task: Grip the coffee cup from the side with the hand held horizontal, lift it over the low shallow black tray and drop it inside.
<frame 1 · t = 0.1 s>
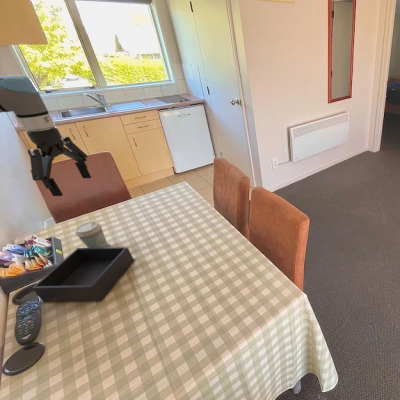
hand: (73, 186, 97), 31 cm above the table, tool pointing down, fingers open, 13 cm apart
shallow black tray: (92, 279, 99), on the table
coffee cup: (100, 249, 114), on the table
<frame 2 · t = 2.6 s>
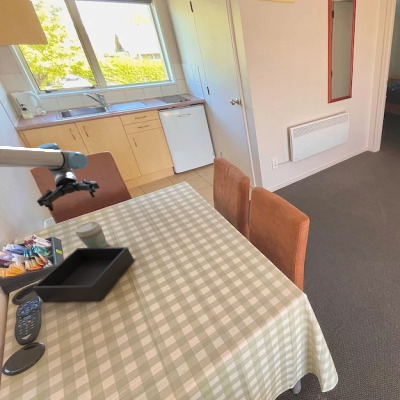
hand: (71, 201, 108), 21 cm above the table, tool horizontal, fingers open, 13 cm apart
nothing on the table moved.
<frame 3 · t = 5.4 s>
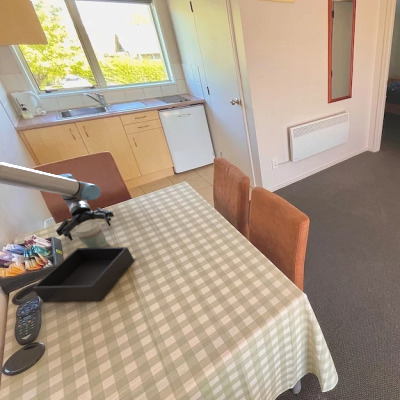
hand: (90, 230, 114), 7 cm above the table, tool horizontal, fingers open, 13 cm apart
nothing on the table moved.
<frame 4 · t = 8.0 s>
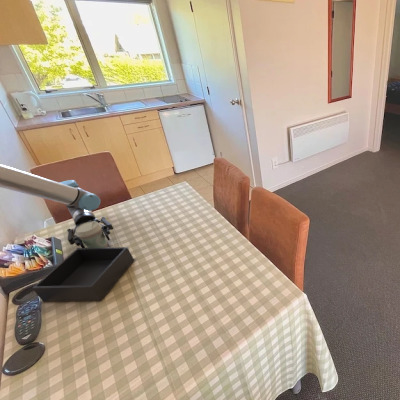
hand: (95, 242, 107), 7 cm above the table, tool horizontal, fingers closed on coffee cup, 8 cm apart
coffee cup: (100, 249, 114), on the table, touching gripper
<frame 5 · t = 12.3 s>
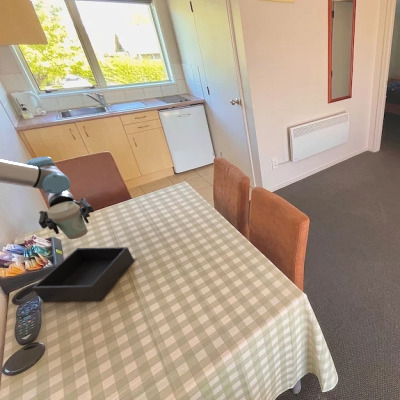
hand: (71, 225, 92), 22 cm above the table, tool horizontal, fingers closed on coffee cup, 8 cm apart
coffee cup: (78, 234, 98), point 15 cm above the table, touching gripper
when the fingers open (12 cm above the table, at t = 16.7 s): coffee cup drops 2 cm, point 4 cm above the table.
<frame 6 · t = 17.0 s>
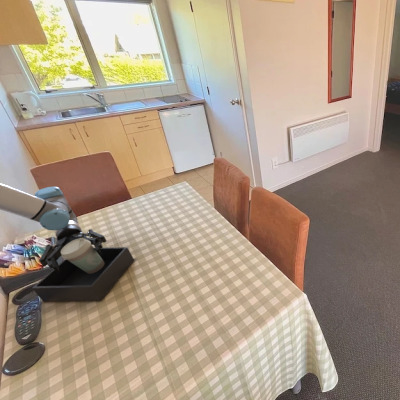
hand: (78, 260, 91), 12 cm above the table, tool horizontal, fingers open, 11 cm apart
coffee cup: (96, 267, 100), point 4 cm above the table
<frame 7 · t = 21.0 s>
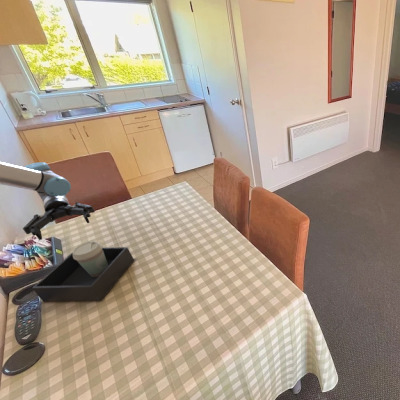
hand: (63, 228, 96), 18 cm above the table, tool horizontal, fingers open, 13 cm apart
coffee cup: (100, 271, 101), point 1 cm above the table, touching shallow black tray
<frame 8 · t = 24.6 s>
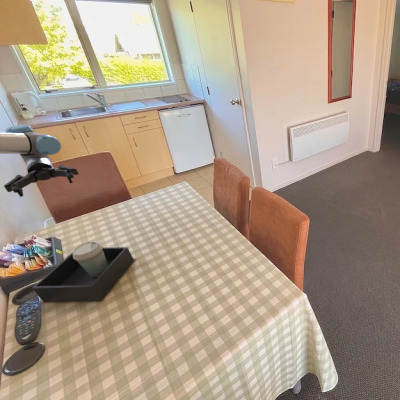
hand: (45, 186, 95), 32 cm above the table, tool horizontal, fingers open, 13 cm apart
nothing on the table moved.
at the end: coffee cup inside the target area in the shallow black tray (3.1 cm from its centre), point 0.8 cm above the shallow black tray's base; the gripper is holding nothing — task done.
